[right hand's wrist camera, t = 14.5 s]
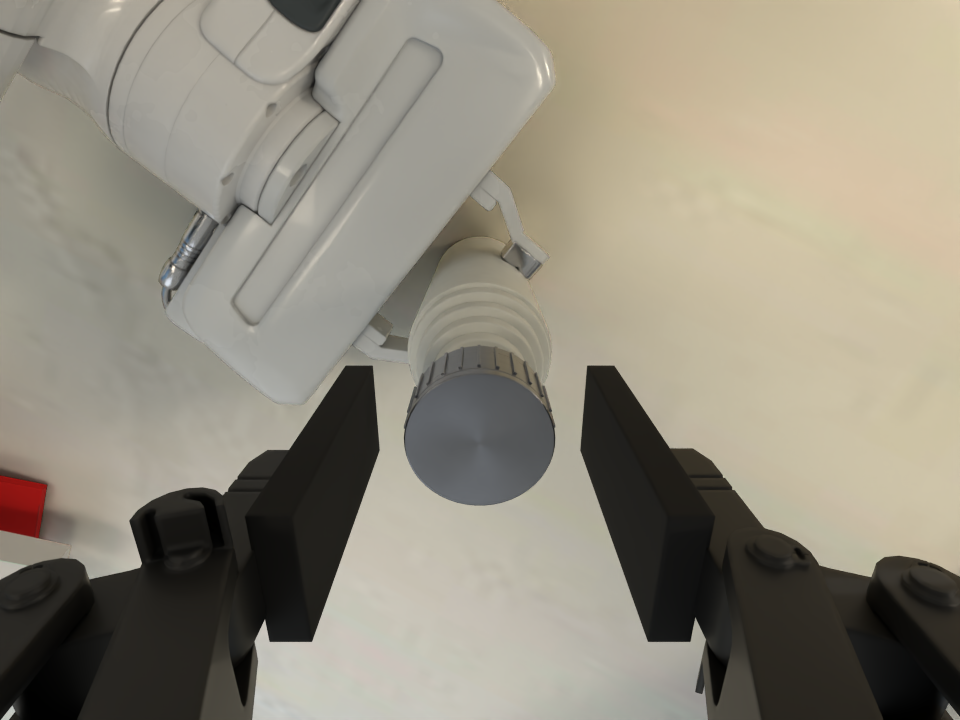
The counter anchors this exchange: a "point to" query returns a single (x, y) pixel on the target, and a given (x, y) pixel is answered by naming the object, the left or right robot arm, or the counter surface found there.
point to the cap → (479, 426)
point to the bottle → (479, 309)
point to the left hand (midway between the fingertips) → (494, 318)
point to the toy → (24, 526)
